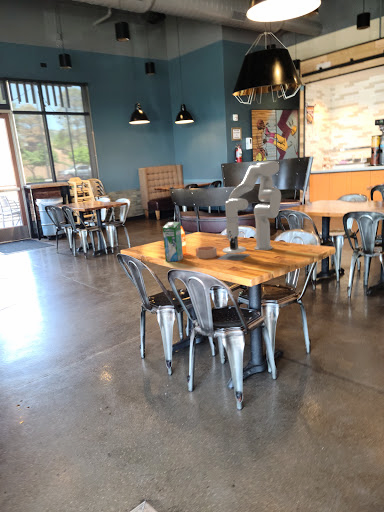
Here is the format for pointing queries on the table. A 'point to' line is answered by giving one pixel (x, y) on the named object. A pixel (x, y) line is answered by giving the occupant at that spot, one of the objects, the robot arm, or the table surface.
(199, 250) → the bowl
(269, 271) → the table surface
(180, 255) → the milk carton
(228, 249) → the lid
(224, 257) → the mat
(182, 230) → the orange juice
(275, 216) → the robot arm
